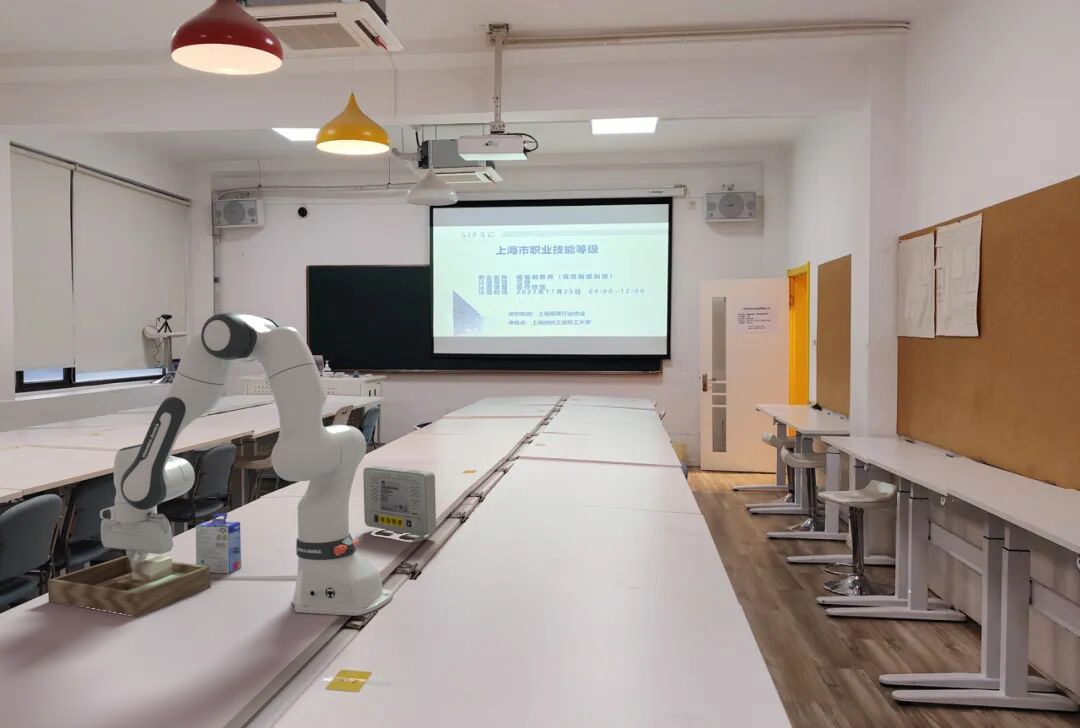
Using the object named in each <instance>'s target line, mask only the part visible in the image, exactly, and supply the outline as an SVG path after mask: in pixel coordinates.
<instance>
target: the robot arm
mask: <svg viewBox="0 0 1080 728" xmlns="http://www.w3.org/2000/svg"><path fill="white" fill-rule="evenodd" d="M238 362H243V363H253V362H254V363H255V362H258V363H260V364H261V365H262V367H263V368H264V372H265V375H266V378H267V381H268V383H269V387H270V389H271V392H272V395H273V398H274V401H275V404H276V408H277V412H278V416H279V417H278V418H279V434H278V438H277V440H276V443H275V444H274V446H273V448H272V451H271V465H272V467H273V470H274V471H275V473H276V475H277V476H278V477H280V479H282V480H284V481H288V482H307V481H308V486H307V488H306V490H305V493H304V494H303V495H302V497H301V498H300V500H299V502H298V505H297V535H298V536H297V539H296V542H295V543H296V546H295V548H296V556H297V557H298V559H297V562H298V563H297V572H296V573H297V574H296V575H297V576H296V584H295V589H294V593H293V597H292V604H293V605H294V612H295V613H300V614H301V613H303V614H304V613H305V614H317V615H318V614H320V615H321V614H322V615H334V616H337V615H340V616H361V615H364V614H368V613H371V612H373V611H375V610H377V609H379V608H381V607H383V606H384V605H386V604H387V603H389V602H390V601H391V600H392V598H393V590H389V589H385V588H383V583H382V578H381V574H380V571H379V570H378V568H376V567H375V566H373V565H372V564H371V563H369V561H367V560H366V559H365V558H364V557H363V556H362V555H361V554H360V553H359V552H357V551H356V550H357V548H356V546H357V545H359V544H360V542H359V541H360V538H358V539H355V540H353V538H352V535H351V533H350V532H349V529H350V528H349V518H350V517H349V516H350V515H349V506H350V503H349V502H350V495H351V490H352V485H353V483H354V478H355V474H356V472H357V469H358V467H359V465H360V463H361V462H362V460H363V459H364V458H365V455H366V453H367V441H366V438H365V435H364V434H363V433H362V431H361V430H360V429H358V428H357V427H355V426H352V425H346V424H334V425H329V426H324V423H323V414H322V412H323V406H325V404H326V402H327V399H328V393H327V391H326V388H325V384H324V382H323V380H322V377H321V374H320V371H319V369H318V365H317V364H316V363H317V362H316V361H315V358H314V356H313V354H312V351H311V349H310V347H309V346H308V343H307V342H306V341H305V339H304V337H303V336H302V334H301V333H300V331H299V330H298V329H296V328H294V327H292V326H284V325H283V326H282V325H280V323H279V322H276V321H275V320H273V319H271V318H267V317H260V316H256V315H252V314H249V313H233V312H223V313H222V312H221V313H218V314H214V315H213V316H211V317H209V318H208V319H207V320H206V321H205V322H204V324H203V325H202V328H201V331H198V332H196V333H195V334H193V335H192V337H191V338H190V340H189V341H188V343H187V345H186V347H185V349H184V351H183V354H182V356H181V358H180V361H179V363H178V366H177V369H176V371H175V374H174V378H173V380H172V382H171V386H170V387H169V390H168V392H167V394H166V396H165V397H164V399H163V401H162V402H161V404H160V405H159V406H158V409H157V410H156V412H155V414H154V416H153V418H152V421H151V423H150V425H149V428H148V429H147V433H146V434H145V436H144V439H143V441H142V443H140V444H136V445H135V444H134V445H132V446H131V445H130V446H126V447H122V448H121V449H119V450H117V452H116V455H115V457H114V464H113V484H114V488H115V491H116V492H115V497H114V505H113V506H109V507H106V508H103V509H101V510H100V512H99V517H100V519H101V522H100V523H101V524H100V540H101V544H102V545H103V547H104V548H111V549H117V550H118V549H119V550H125V553H126V556H128V558H129V560H130V564H131V568H132V562H135V561H138V560H141V559H144V558H147V557H149V554H155V555H163V554H166V553H168V552H171V551H172V550H173V548H174V541H173V532H172V531H173V530H172V527H171V524H170V520H169V519H168V518H167V517H166V515H165V514H163V513H158V509H157V508H158V505H160V504H162V503H164V502H167V501H169V500H172V499H175V498H177V497H180V496H182V495H185V494H186V493H187V492H189V491H190V490H191V489H192V488H193V486H194V485H195V481H196V472H195V469H194V467H193V465H192V464H191V462H189V460H187V459H186V458H183V457H181V456H180V457H177V456H173V455H171V454H172V451H173V450H174V447H175V445H176V442H177V440H178V438H179V436H180V434H181V433H182V432H183V431H184V429H185V428H187V427H188V426H189V425H190V424H192V423H193V422H194V421H195V420H198V419H199V418H201V417H202V416H204V415H206V414H207V413H209V412H210V411H213V409H214V408H215V407H216V406H217V405H218V403H219V401H220V399H221V397H222V395H223V393H224V391H225V387H226V383H227V381H228V377H229V374H230V371H231V369H232V367H233V365H234V364H235V363H238Z"/></svg>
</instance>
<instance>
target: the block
mask: <svg viewBox="0 0 1080 728" xmlns="http://www.w3.org/2000/svg"><path fill="white" fill-rule="evenodd" d="M172 562H173V557H170V556H169V557H168V556H164V555H163V556H162V555H157V554H155V555H151V556H147V558H144V559H141V560H138V561H135V562H132V579H135V580H142V581H149V582H152V581H154V580H157V579H160V578H163V577H165V576H168V575H171V574H172Z"/></svg>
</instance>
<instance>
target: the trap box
mask: <svg viewBox="0 0 1080 728" xmlns="http://www.w3.org/2000/svg"><path fill="white" fill-rule="evenodd" d="M209 588H211V572H210V567H209V566H201V565H196V564H194V563H186V562H185V563H184V562H177V561H172V574H171V575H168V576H165V577H163V578H160V579H157V580H154V581H152V582H149V581H142V580H135V579H132V568H131V564H130V560H129V558H128V556H127V555H124V556H121V557H117V558H115V559H111V560H108V561H104V562H103V563H99V564H95V565H92V566H89V567H88V566H87V567H86V568H82V569H79V570H75V571H73V572H69V573H67V574H64V575H61V576H57V577H55V578H54V577H53V578H50V579H48V580H47V593H48V596H47V597H48V602H49V603H53V602H56V603H55V604H59V603H63V604H62V605H64V604H69V605H68V606H70V605H76V606H83V607H89V608H95V609H100V610H106V611H111V612H116V613H122V614H126V615H125V616H127V615H131V616H130V617H132V616H136V617H135V618H138V617H140V615H141V616H143V615H145V613H146V614H148V613H151V612H153V611H155V610H159V609H160V608H163V607H165V606H167V605H170V604H172V603H175V602H177V601H180V600H182V599H186V598H188V597H190V596H192V595H194V594H197V593H200V592H202V591H204V590H207V589H209ZM50 601H51V602H50ZM76 606H75V607H76ZM150 611H151V612H150ZM137 616H138V617H137Z"/></svg>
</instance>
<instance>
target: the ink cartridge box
mask: <svg viewBox="0 0 1080 728" xmlns="http://www.w3.org/2000/svg"><path fill="white" fill-rule="evenodd" d="M220 516H221V517H223V518H217V517H220ZM227 518H228V513H226V512H215V513H214V515H213V518H212V520H210V521H204V522H202V523H199V524H196V525H195V565H201V566H209V567H210V573H216V574H230V573H232V572H235V571H237V570H240V569H242V547H241V546H242V545H241V543H242V540H241V522H240V521H227Z"/></svg>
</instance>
